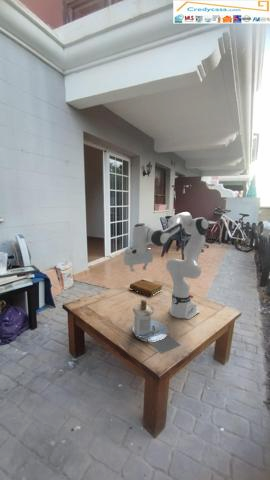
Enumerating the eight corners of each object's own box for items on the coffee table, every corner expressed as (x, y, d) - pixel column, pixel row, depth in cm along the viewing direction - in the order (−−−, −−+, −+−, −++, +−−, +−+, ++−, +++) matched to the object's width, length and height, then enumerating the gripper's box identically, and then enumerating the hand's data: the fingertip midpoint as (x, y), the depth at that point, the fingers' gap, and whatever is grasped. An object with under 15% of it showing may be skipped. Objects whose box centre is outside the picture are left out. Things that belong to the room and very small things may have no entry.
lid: (145, 304, 135) (146, 295, 134) (157, 312, 125) (158, 303, 124) (129, 308, 128) (129, 299, 127) (140, 318, 118) (141, 307, 117)
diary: (129, 290, 196) (129, 284, 195) (141, 285, 210) (142, 279, 209) (151, 297, 182) (151, 291, 181) (162, 291, 197) (162, 285, 196)
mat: (164, 333, 131) (164, 332, 131) (180, 345, 119) (181, 344, 119) (145, 340, 123) (145, 339, 123) (161, 354, 111) (161, 353, 111)
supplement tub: (152, 332, 131) (154, 309, 128) (145, 340, 123) (147, 316, 120) (138, 327, 135) (139, 305, 133) (130, 335, 127) (131, 311, 125)
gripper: (149, 247, 145) (148, 267, 147) (122, 249, 134) (122, 271, 136) (155, 248, 140) (154, 269, 142) (128, 251, 129) (127, 273, 131)
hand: (138, 270), depth 139 cm, fingers open, 8 cm apart
